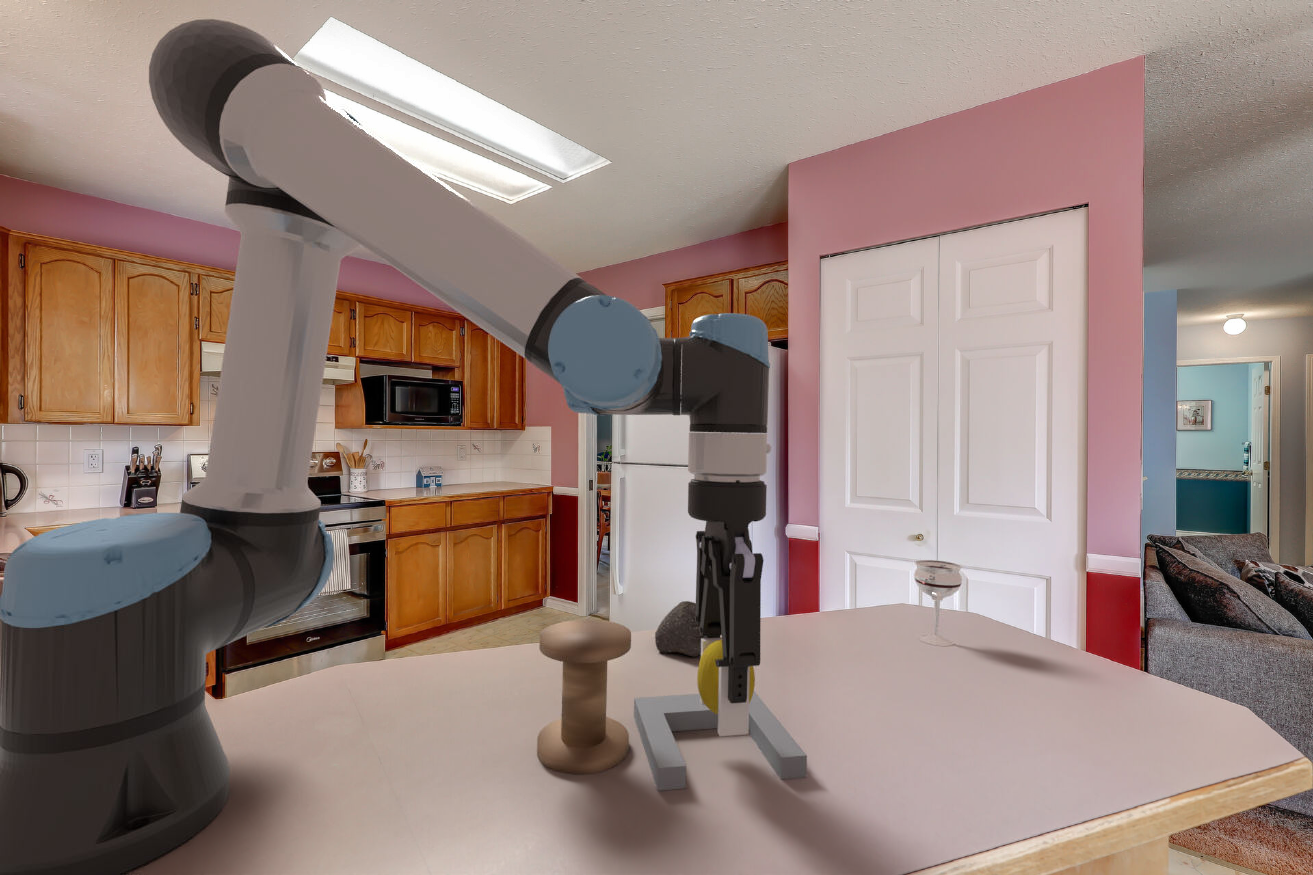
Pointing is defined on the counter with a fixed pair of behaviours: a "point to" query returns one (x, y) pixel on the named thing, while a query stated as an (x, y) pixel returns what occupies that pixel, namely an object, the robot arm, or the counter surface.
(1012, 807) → the counter surface
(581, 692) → the bobbin
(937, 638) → the wineglass
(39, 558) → the robot arm
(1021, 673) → the counter surface
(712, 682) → the lemon
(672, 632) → the stone
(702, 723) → the notch board
